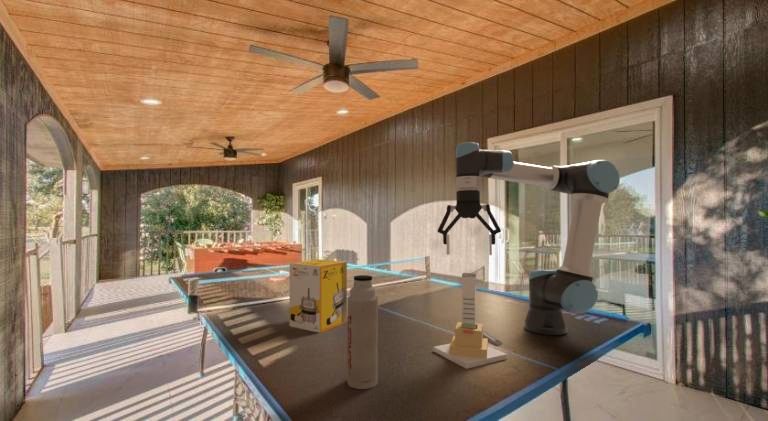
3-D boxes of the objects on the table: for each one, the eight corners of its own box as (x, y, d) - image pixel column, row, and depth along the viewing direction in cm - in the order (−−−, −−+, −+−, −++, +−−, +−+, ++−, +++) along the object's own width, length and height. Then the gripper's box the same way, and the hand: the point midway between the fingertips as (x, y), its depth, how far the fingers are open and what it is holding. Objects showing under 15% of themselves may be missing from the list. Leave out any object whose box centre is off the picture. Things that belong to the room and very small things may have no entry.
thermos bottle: (347, 389, 96) (347, 278, 96) (347, 376, 104) (347, 273, 104) (378, 388, 97) (378, 278, 97) (376, 375, 105) (376, 273, 105)
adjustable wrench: (503, 346, 130) (503, 341, 130) (485, 347, 129) (485, 342, 129) (474, 325, 154) (474, 320, 154) (459, 325, 153) (459, 321, 153)
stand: (506, 346, 128) (506, 319, 128) (507, 373, 106) (507, 341, 106) (438, 340, 134) (438, 314, 134) (427, 364, 113) (427, 333, 113)
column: (476, 328, 122) (476, 273, 122) (475, 332, 117) (475, 275, 118) (463, 327, 123) (462, 272, 123) (461, 331, 119) (461, 274, 119)
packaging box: (346, 322, 156) (347, 261, 157) (320, 333, 143) (320, 266, 143) (317, 317, 165) (317, 259, 165) (289, 326, 151) (289, 263, 152)
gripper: (428, 190, 125) (429, 255, 125) (508, 188, 119) (509, 256, 119) (431, 191, 132) (432, 252, 132) (506, 189, 126) (508, 253, 126)
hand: (469, 254), depth 125 cm, fingers open, 13 cm apart
